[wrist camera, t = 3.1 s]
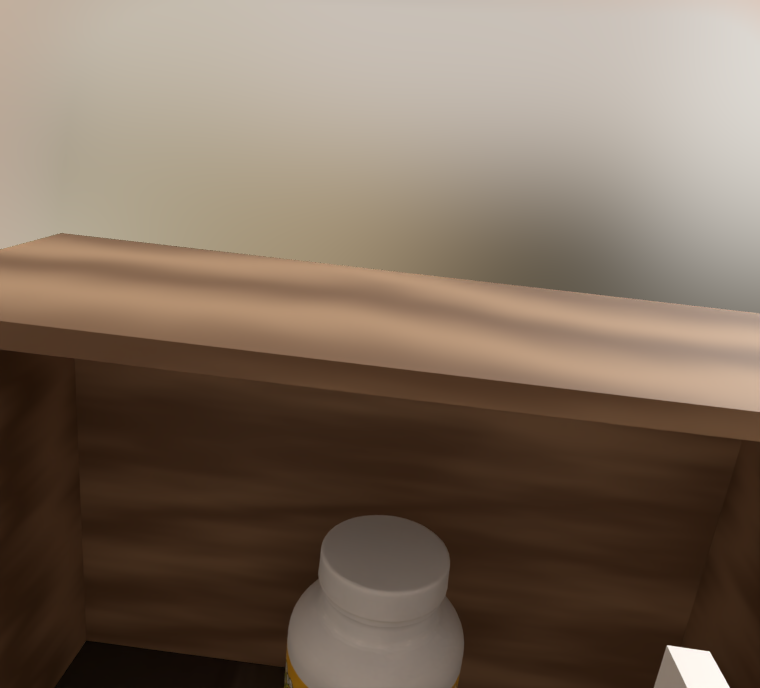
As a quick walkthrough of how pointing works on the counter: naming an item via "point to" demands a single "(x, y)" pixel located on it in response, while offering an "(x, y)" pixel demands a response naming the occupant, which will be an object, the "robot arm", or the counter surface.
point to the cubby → (369, 460)
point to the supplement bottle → (376, 611)
